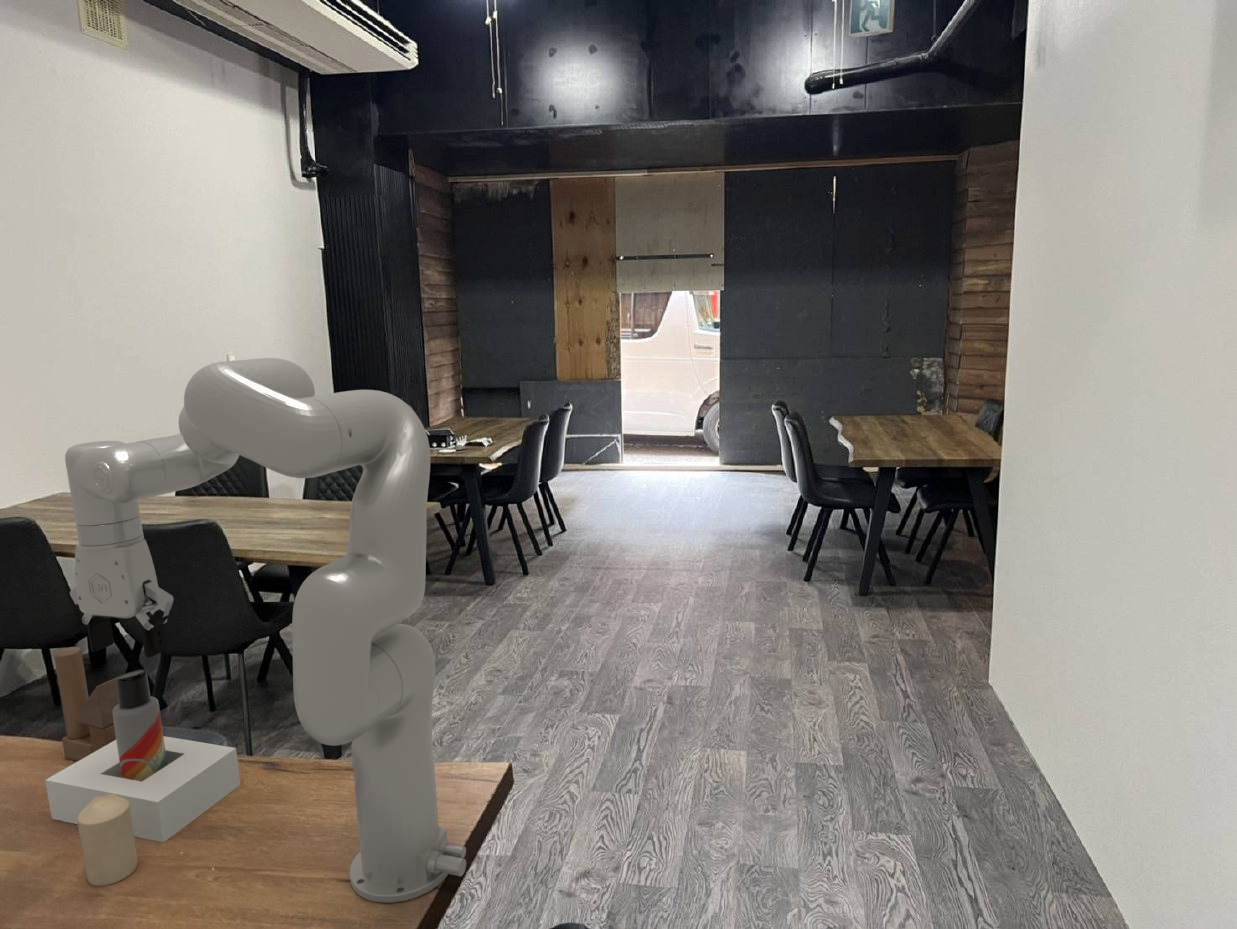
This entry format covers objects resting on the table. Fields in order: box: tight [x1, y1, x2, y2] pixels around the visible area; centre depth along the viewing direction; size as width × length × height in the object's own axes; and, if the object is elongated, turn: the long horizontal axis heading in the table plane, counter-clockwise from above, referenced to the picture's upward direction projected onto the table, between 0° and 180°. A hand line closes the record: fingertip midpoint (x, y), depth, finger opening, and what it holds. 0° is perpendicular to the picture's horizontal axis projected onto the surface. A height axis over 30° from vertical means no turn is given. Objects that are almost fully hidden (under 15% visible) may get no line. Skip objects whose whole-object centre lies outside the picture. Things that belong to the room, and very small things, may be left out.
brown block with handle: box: [53, 646, 119, 762], centre depth 128 cm, size 4×11×18 cm, turn 67°
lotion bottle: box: [113, 668, 167, 782], centre depth 116 cm, size 6×6×20 cm
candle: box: [77, 794, 139, 887], centre depth 102 cm, size 6×6×10 cm
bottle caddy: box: [45, 735, 241, 844], centre depth 117 cm, size 20×14×6 cm
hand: (129, 650), depth 113 cm, fingers open, 9 cm apart
